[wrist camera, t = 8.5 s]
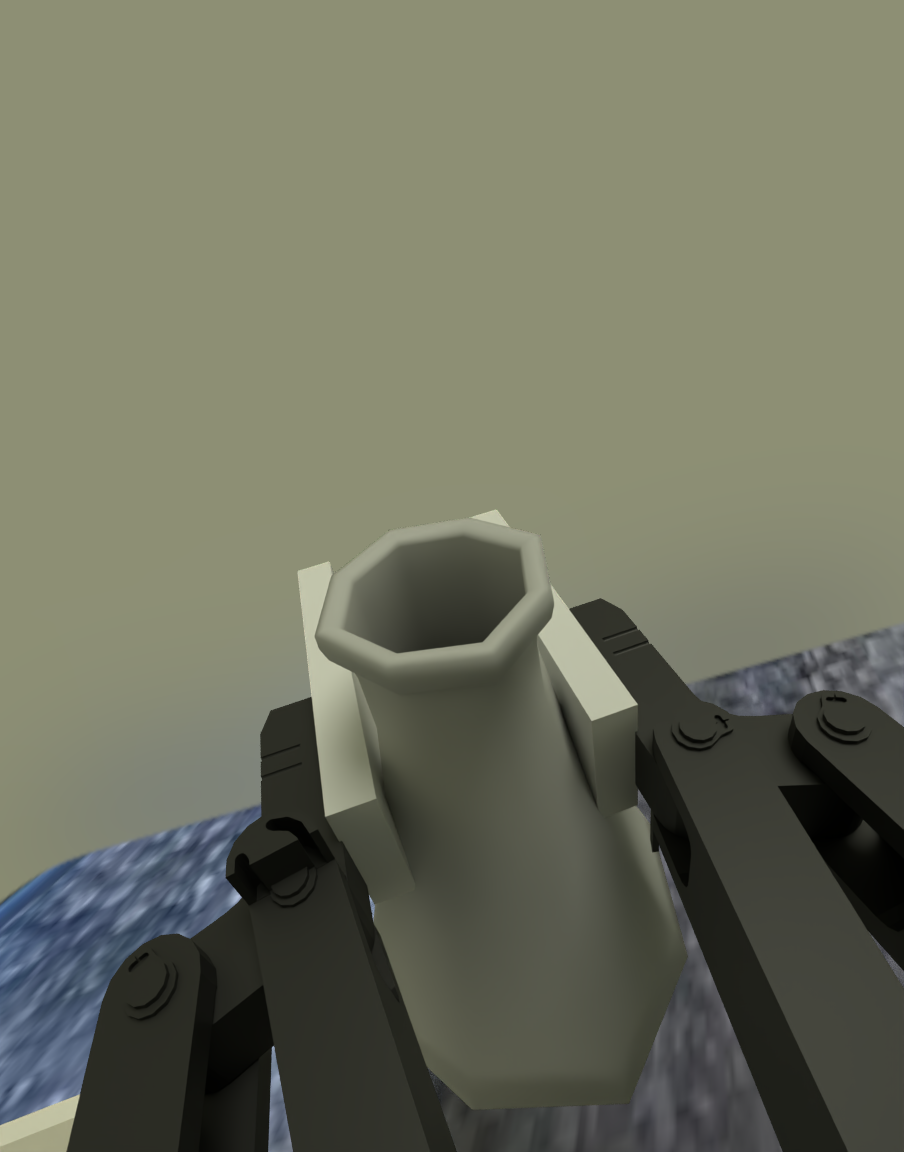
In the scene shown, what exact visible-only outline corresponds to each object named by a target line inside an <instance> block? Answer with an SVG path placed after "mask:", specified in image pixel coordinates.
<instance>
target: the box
mask: <svg viewBox="0 0 904 1152" xmlns="http://www.w3.org/2000/svg"><path fill="white" fill-rule="evenodd" d="M79 1097H80V1095H77V1096H75V1097H72V1098H69V1099H67V1100H64V1101H62V1102H59V1103H57V1104H54V1105H51V1106H49V1107H46V1108H44V1109H41V1110H39V1111H36V1112H34V1113H31V1114H28V1115H26V1116H23V1117H21V1118H18V1119H16V1120H13V1121H10V1122H8V1123H5V1124H3V1125H0V1152H66V1151H67V1147H68V1143H69V1138H70V1134H71V1130H72V1126H73V1122H74V1118H75V1113H76V1109H77V1105H78V1101H79Z"/></svg>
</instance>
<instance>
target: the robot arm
mask: <svg viewBox="0 0 904 1152" xmlns="http://www.w3.org/2000/svg"><path fill="white" fill-rule="evenodd" d="M471 518H473V519H478V520H482V521H486V522H490V523H494V524H498V525H503V526H507V527H509V526H508V525H507V523H506V522H505V520H504V519H503V518H502V516H501V515H500V513H499V512H498V511H497V509H496V510H493V511H490V512H486V513H483V514H480V515H477V516H474V517H471ZM333 574H334V572H333V570H332V567H331V564H330V561H329V562H326V563H322V564H319V565H316V566H313V567H310V568H306V569H303V570H300V571H298V579H299V589H300V597H301V606H302V615H303V624H304V633H305V642H306V651H307V660H308V669H309V677H310V686H311V695H312V697H310V698H307V699H304V700H301V701H298V702H295V703H292V704H289V705H286V706H283V707H280V708H277V709H274V710H271V711H270V713H269V716H268V718H267V720H266V723H265V725H264V727H263V730H262V732H261V734H260V737H261V759H262V762H261V777H262V781H261V811H262V817H260V818H259V819H258V820H256V821H255V822H253V823H252V824H250V825H249V826H248V827H247V828H246V829H245V830H244V831H243V833H242V834H241V835H240V836H239V837H238V838H237V840H236V841H235V842H234V844H233V847H232V849H231V851H230V854H229V856H228V858H227V863H226V879H227V880H228V881H229V882H230V883H231V885H232V886H233V887H234V888H235V889H236V891H237V892H238V893H239V894H240V895H241V897H242V898H241V900H240V901H239V902H238V903H237V904H236V905H235V906H233V907H232V908H231V909H230V910H229V911H228V912H227V913H225V914H224V915H223V916H221V917H220V918H218V919H217V920H216V921H214V922H213V923H212V924H210V925H209V926H207V927H206V928H205V929H203V930H202V931H201V932H199V933H198V934H196V935H195V936H194V937H192V938H191V939H189V938H187V937H184V936H182V935H180V934H169V935H161V936H159V937H157V938H155V939H152V940H150V941H148V942H146V943H144V944H142V945H141V946H140V947H139V948H138V949H137V950H136V951H135V952H133V953H132V954H131V955H130V956H129V957H128V958H127V959H126V960H125V961H124V962H123V964H122V965H121V966H120V968H119V969H118V971H117V972H116V973H115V975H114V976H113V978H112V979H111V981H110V983H109V986H108V988H107V991H106V994H105V996H104V999H103V1001H102V1005H101V1009H100V1013H99V1017H98V1021H97V1025H96V1030H95V1034H94V1038H93V1042H92V1046H91V1051H90V1055H89V1059H88V1063H87V1067H86V1072H85V1076H84V1080H83V1084H82V1088H81V1092H80V1097H79V1101H78V1105H77V1109H76V1113H75V1118H74V1122H73V1126H72V1130H71V1134H70V1138H69V1143H68V1147H67V1151H66V1152H268V1140H269V1111H270V1083H271V1055H272V1047H273V1046H274V1047H275V1053H276V1058H277V1064H278V1069H279V1075H280V1081H281V1086H282V1092H283V1097H284V1103H285V1108H286V1114H287V1120H288V1125H289V1131H290V1136H291V1142H292V1147H293V1152H457V1151H456V1148H455V1145H454V1143H453V1140H452V1137H451V1134H450V1131H449V1128H448V1126H447V1123H446V1120H445V1117H444V1114H443V1111H442V1108H441V1106H440V1103H439V1100H438V1097H437V1094H436V1091H435V1089H434V1086H433V1083H432V1080H431V1077H430V1074H429V1072H428V1069H427V1066H426V1063H425V1060H424V1057H423V1055H422V1052H421V1049H420V1046H419V1043H418V1040H417V1037H416V1035H415V1032H414V1029H413V1026H412V1023H411V1020H410V1018H409V1015H408V1012H407V1009H406V1006H405V1003H404V1001H403V998H402V995H401V992H400V989H399V986H398V983H397V981H396V978H395V975H394V972H393V969H392V966H391V964H390V961H389V958H388V955H387V952H386V949H385V947H384V944H383V941H382V938H381V935H380V934H379V932H378V930H377V928H376V927H375V925H374V923H373V918H372V912H371V906H370V899H369V895H370V897H371V899H372V901H373V902H374V904H375V905H376V904H379V903H381V902H384V901H387V900H389V899H392V898H395V897H397V896H400V895H402V894H405V893H408V892H410V891H413V890H414V889H415V885H416V884H415V881H414V878H413V876H412V873H411V870H410V867H409V864H408V861H407V858H406V855H405V852H404V849H403V846H402V843H401V840H400V838H399V835H398V832H397V829H396V826H395V823H394V820H393V817H392V814H391V811H390V808H389V806H388V803H387V800H386V798H385V790H384V782H383V774H382V766H381V758H380V750H379V742H378V734H377V727H376V725H375V722H374V719H373V717H372V714H371V711H370V709H369V706H368V704H367V701H366V698H365V696H364V693H363V690H362V688H361V685H360V682H359V680H358V678H357V676H356V675H355V673H353V672H351V671H349V670H347V669H345V668H343V667H341V666H339V665H337V664H335V663H333V662H331V661H329V660H328V659H327V658H326V657H325V655H324V654H323V653H322V652H321V651H320V650H319V648H318V645H317V642H316V639H315V632H316V629H317V625H318V621H319V618H320V614H321V611H322V607H323V603H324V600H325V596H326V593H327V589H328V586H329V582H330V578H331V576H332V575H333ZM551 588H552V594H553V599H554V609H553V614H552V618H551V619H550V621H549V622H548V623H547V625H546V626H545V627H544V628H543V629H542V631H541V632H540V633H539V634H538V635H537V647H538V649H539V652H540V654H541V657H542V659H543V662H544V664H545V667H546V669H547V672H548V674H549V677H550V680H551V682H552V685H553V687H554V690H555V692H556V695H557V697H558V700H559V702H560V705H561V708H562V712H563V715H564V718H565V721H566V723H567V726H568V729H569V732H570V734H571V737H572V740H573V743H574V745H575V748H576V751H577V753H578V756H579V759H580V762H581V764H582V767H583V770H584V773H585V775H586V778H587V781H588V783H589V786H590V789H591V792H592V794H593V797H594V800H595V803H596V805H597V808H598V810H599V811H600V812H601V814H602V815H603V817H604V818H605V817H608V816H610V815H613V814H616V813H618V812H621V811H623V810H626V809H629V808H631V807H634V806H637V805H638V789H639V791H640V792H641V794H642V795H643V797H644V799H645V800H646V802H647V803H648V805H649V807H650V808H651V824H650V842H651V848H652V853H653V852H658V851H659V846H660V848H661V851H662V853H663V856H664V858H665V861H666V863H667V866H668V868H669V871H670V873H671V875H672V878H673V880H674V883H675V885H676V888H677V890H678V893H679V895H680V898H681V900H682V903H683V905H684V908H685V910H686V913H687V915H688V918H689V920H690V923H691V925H692V928H693V930H694V933H695V935H696V938H697V940H698V942H699V945H700V947H701V950H702V952H703V955H704V957H705V960H706V962H707V965H708V967H709V970H710V972H711V975H712V977H713V980H714V982H715V985H716V987H717V990H718V992H719V995H720V997H721V1000H722V1002H723V1004H724V1007H725V1009H726V1012H727V1014H728V1017H729V1019H730V1022H731V1024H732V1027H733V1029H734V1032H735V1034H736V1037H737V1039H738V1042H739V1044H740V1047H741V1049H742V1052H743V1054H744V1057H745V1059H746V1062H747V1064H748V1067H749V1069H750V1071H751V1074H752V1076H753V1079H754V1081H755V1084H756V1086H757V1089H758V1091H759V1094H760V1096H761V1099H762V1101H763V1104H764V1106H765V1109H766V1111H767V1114H768V1116H769V1119H770V1121H771V1124H772V1126H773V1129H774V1131H775V1133H776V1136H777V1138H778V1141H779V1143H780V1146H781V1148H782V1151H783V1152H904V988H903V986H902V985H901V983H900V982H899V980H898V978H897V977H896V975H895V974H894V972H893V970H892V969H891V967H890V966H889V964H888V962H887V961H886V959H885V958H884V956H883V954H882V953H881V951H880V950H879V948H878V946H877V945H876V943H875V942H874V940H873V938H872V937H871V935H872V936H873V937H874V938H875V939H876V940H877V941H878V943H879V944H880V945H881V946H882V947H883V948H884V949H885V950H886V951H887V953H888V954H889V955H890V956H891V957H892V958H893V959H894V960H895V962H896V963H897V964H898V965H899V966H900V967H901V968H902V969H903V971H904V727H903V726H902V725H900V724H899V723H898V722H896V721H895V720H894V719H893V718H891V717H890V716H889V715H887V714H886V713H885V712H883V711H882V710H881V709H880V708H878V707H877V706H875V705H873V704H872V703H870V702H868V701H866V700H865V699H863V698H861V697H859V696H855V695H852V694H849V693H845V692H842V691H825V690H823V691H819V692H815V693H810V694H807V695H806V696H805V697H803V698H802V699H801V700H799V701H798V702H797V704H796V707H795V709H794V712H793V714H785V715H768V716H737V715H732V714H729V713H728V712H727V711H725V710H723V709H721V708H720V707H718V706H716V705H714V704H712V703H707V702H703V701H701V700H700V699H698V698H697V697H696V696H695V695H694V694H693V693H692V692H691V690H690V689H689V688H688V687H687V686H686V684H685V683H684V682H683V681H682V680H681V679H680V677H679V676H678V675H677V674H676V673H675V671H674V670H673V669H672V668H671V667H670V666H669V665H668V663H667V662H666V661H665V660H664V658H663V657H662V656H661V655H660V654H659V652H658V651H657V650H656V649H655V648H654V647H653V645H652V644H649V642H648V640H647V638H646V637H645V636H644V635H643V634H642V632H641V631H640V630H638V629H637V626H636V625H635V624H634V623H633V622H632V621H631V619H630V618H629V617H628V616H627V615H626V613H625V612H624V611H623V610H622V609H620V608H618V607H616V606H614V605H612V604H611V603H609V602H607V601H605V600H603V599H597V600H595V601H592V602H588V603H585V604H582V605H579V606H576V607H573V608H570V609H568V607H567V606H566V605H565V603H564V602H563V601H562V599H561V598H560V596H559V595H558V594H557V592H556V591H555V589H554V588H553V587H552V585H551ZM868 931H869V932H870V934H871V935H870V934H869V932H868Z"/></svg>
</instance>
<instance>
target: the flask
mask: <svg viewBox="0 0 904 1152" xmlns="http://www.w3.org/2000/svg"><path fill="white" fill-rule="evenodd" d="M553 609H554V599H553V594H552V588H551V584H550V579H549V574H548V569H547V564H546V559H545V554H544V549H543V544H542V539H541V535H540V534H536V533H532V532H527V531H523V530H519V529H515V528H511V527H507V526H503V525H498V524H494V523H490V522H486V521H482V520H478V519H473V518H462V519H456V520H449V521H443V522H436V523H430V524H423V525H417V526H411V527H404V528H398V529H392V530H388V531H387V532H386V533H384V534H383V535H382V536H381V537H379V538H378V539H377V540H376V541H374V542H373V543H372V544H371V545H369V546H368V547H367V548H366V549H364V550H363V551H362V552H361V553H359V554H358V555H357V556H356V557H354V558H353V559H352V560H351V561H349V562H348V563H347V564H346V565H344V566H343V567H342V568H341V569H339V570H338V571H337V572H336V573H334V574H333V575H332V576H331V578H330V582H329V586H328V589H327V593H326V596H325V600H324V603H323V607H322V611H321V614H320V618H319V621H318V625H317V629H316V632H315V639H316V642H317V645H318V648H319V650H320V651H321V652H322V653H323V654H324V655H325V657H326V658H327V659H328V660H329V661H331V662H333V663H335V664H337V665H339V666H341V667H343V668H345V669H347V670H349V671H351V672H353V673H355V675H356V676H357V678H358V680H359V682H360V685H361V688H362V690H363V693H364V696H365V698H366V701H367V704H368V706H369V709H370V711H371V714H372V717H373V719H374V722H375V725H376V727H377V734H378V742H379V750H380V758H381V766H382V774H383V782H384V790H385V798H386V800H387V803H388V806H389V808H390V811H391V814H392V817H393V820H394V823H395V826H396V829H397V832H398V835H399V838H400V840H401V843H402V846H403V849H404V852H405V855H406V858H407V861H408V864H409V867H410V870H411V873H412V876H413V878H414V881H415V884H416V885H415V889H414V890H413V891H410V892H408V893H405V894H402V895H400V896H397V897H395V898H392V899H389V900H387V901H384V902H381V903H379V904H376V905H375V912H374V922H373V923H374V925H375V927H376V928H377V930H378V932H379V934H380V935H381V938H382V941H383V944H384V947H385V949H386V952H387V955H388V958H389V961H390V964H391V966H392V969H393V972H394V975H395V978H396V981H397V983H398V986H399V989H400V992H401V995H402V998H403V1001H404V1003H405V1006H406V1009H407V1012H408V1015H409V1018H410V1020H411V1023H412V1026H413V1029H414V1032H415V1035H416V1037H417V1040H418V1043H419V1046H420V1049H421V1052H422V1055H423V1057H424V1060H425V1063H426V1066H427V1067H428V1068H429V1069H430V1070H431V1071H432V1072H433V1073H434V1074H435V1075H436V1076H437V1077H438V1078H439V1079H440V1080H441V1081H442V1082H443V1083H445V1084H446V1085H447V1086H448V1087H449V1088H450V1089H451V1090H452V1091H453V1092H454V1093H455V1094H456V1095H457V1096H458V1097H459V1098H460V1099H461V1100H462V1101H464V1102H465V1103H466V1104H467V1105H468V1106H469V1107H470V1108H471V1109H472V1110H482V1109H507V1108H533V1107H558V1106H584V1105H609V1104H629V1102H630V1100H631V1097H632V1095H633V1092H634V1090H635V1087H636V1085H637V1082H638V1080H639V1077H640V1075H641V1072H642V1070H643V1067H644V1065H645V1062H646V1060H647V1057H648V1055H649V1052H650V1050H651V1047H652V1045H653V1042H654V1040H655V1037H656V1035H657V1032H658V1030H659V1027H660V1025H661V1022H662V1020H663V1017H664V1015H665V1012H666V1010H667V1007H668V1005H669V1002H670V1000H671V997H672V995H673V992H674V990H675V987H676V985H677V982H678V980H679V977H680V975H681V972H682V970H683V967H684V965H685V962H686V959H687V957H688V955H687V952H686V948H685V944H684V941H683V937H682V933H681V930H680V926H679V923H678V919H677V915H676V912H675V908H674V905H673V901H672V897H671V894H670V890H669V887H668V883H667V879H666V876H665V872H664V869H663V865H662V861H661V858H660V854H659V851H658V852H653V853H652V848H651V842H650V824H649V822H648V821H647V820H646V818H645V817H644V815H643V814H642V813H641V811H640V810H639V809H638V808H637V807H636V806H634V807H631V808H629V809H626V810H623V811H621V812H618V813H616V814H613V815H610V816H608V817H605V818H604V817H603V815H602V814H601V812H600V811H599V810H598V808H597V805H596V803H595V800H594V797H593V794H592V792H591V789H590V786H589V783H588V781H587V778H586V775H585V773H584V770H583V767H582V764H581V762H580V759H579V756H578V753H577V751H576V748H575V745H574V743H573V740H572V737H571V734H570V732H569V729H568V726H567V723H566V721H565V718H564V715H563V712H562V708H561V705H560V702H559V700H558V697H557V695H556V692H555V690H554V687H553V685H552V682H551V680H550V677H549V674H548V672H547V669H546V667H545V664H544V662H543V659H542V657H541V654H540V652H539V649H538V647H537V635H538V634H539V633H540V632H541V631H542V629H543V628H544V627H545V626H546V625H547V623H548V622H549V621H550V619H551V618H552V614H553Z"/></svg>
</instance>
